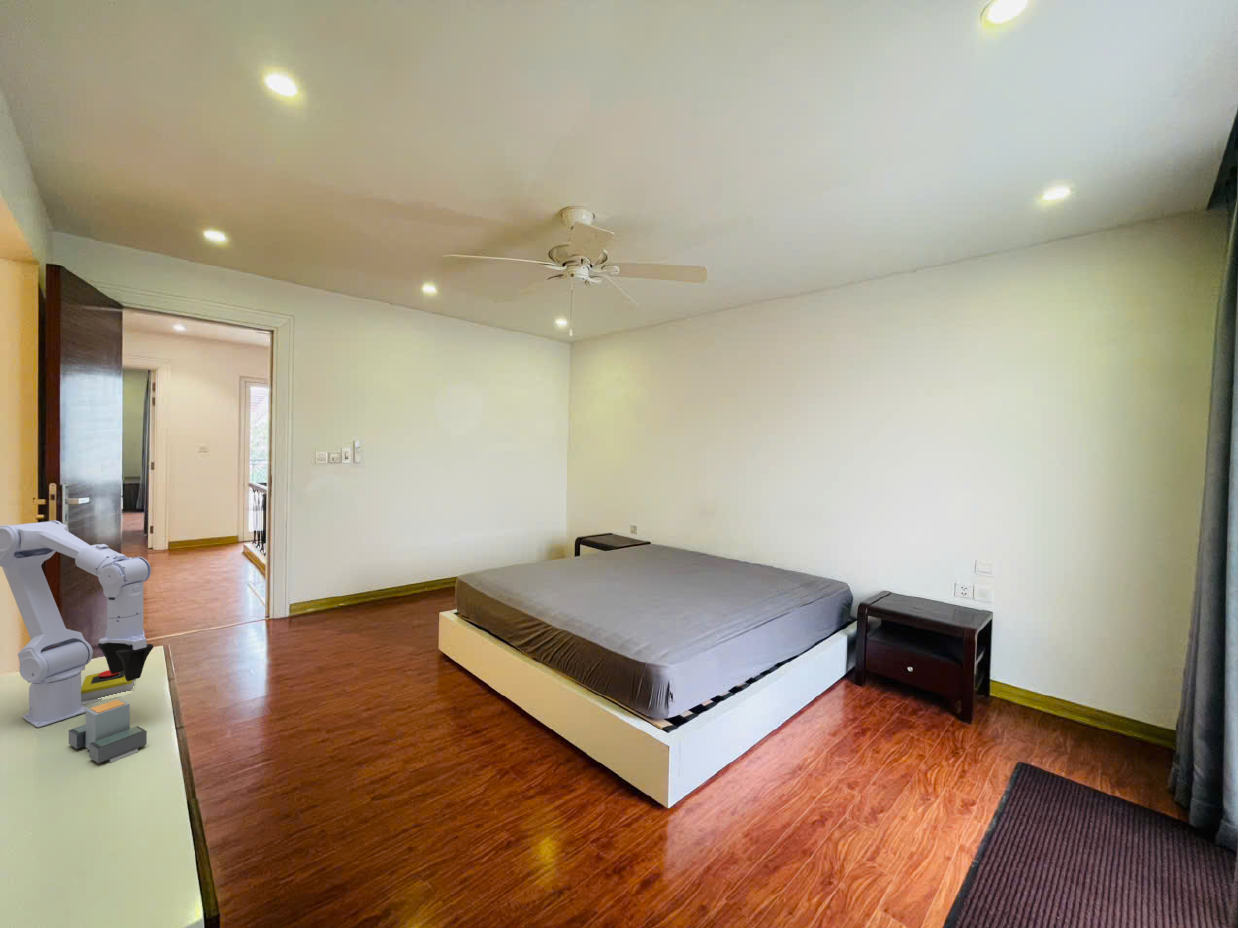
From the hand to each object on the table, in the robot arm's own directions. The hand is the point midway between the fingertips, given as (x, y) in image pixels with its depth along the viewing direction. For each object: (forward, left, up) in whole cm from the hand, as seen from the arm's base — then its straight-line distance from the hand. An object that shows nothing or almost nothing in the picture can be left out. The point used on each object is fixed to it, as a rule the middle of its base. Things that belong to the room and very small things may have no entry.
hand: (125, 675), depth 109 cm
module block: (+10, -6, -9) cm, 15 cm away
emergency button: (-23, +5, -11) cm, 26 cm away
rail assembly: (+10, -6, -10) cm, 15 cm away
